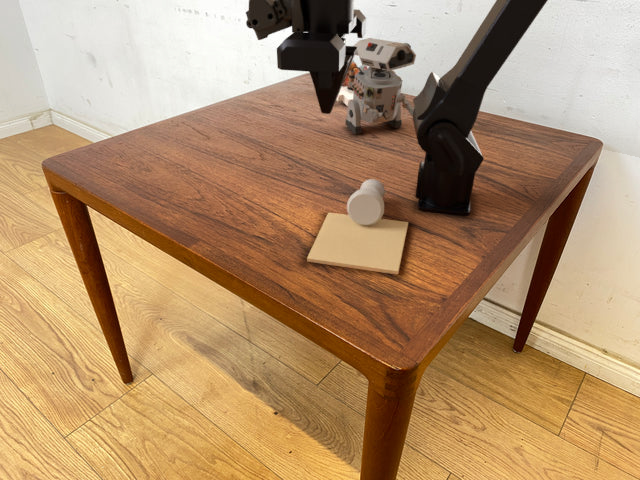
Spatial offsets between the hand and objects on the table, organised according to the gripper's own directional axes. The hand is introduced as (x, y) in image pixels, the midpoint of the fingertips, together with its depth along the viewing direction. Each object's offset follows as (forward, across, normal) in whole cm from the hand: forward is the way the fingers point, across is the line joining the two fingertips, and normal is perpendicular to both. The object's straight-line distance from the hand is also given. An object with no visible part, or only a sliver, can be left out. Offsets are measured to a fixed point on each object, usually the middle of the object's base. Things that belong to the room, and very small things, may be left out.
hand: (326, 112), depth 59 cm
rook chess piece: (+9, +7, +6) cm, 13 cm away
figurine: (+12, -25, +4) cm, 28 cm away
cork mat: (+12, +10, +6) cm, 16 cm away
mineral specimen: (+12, -43, -3) cm, 45 cm away
